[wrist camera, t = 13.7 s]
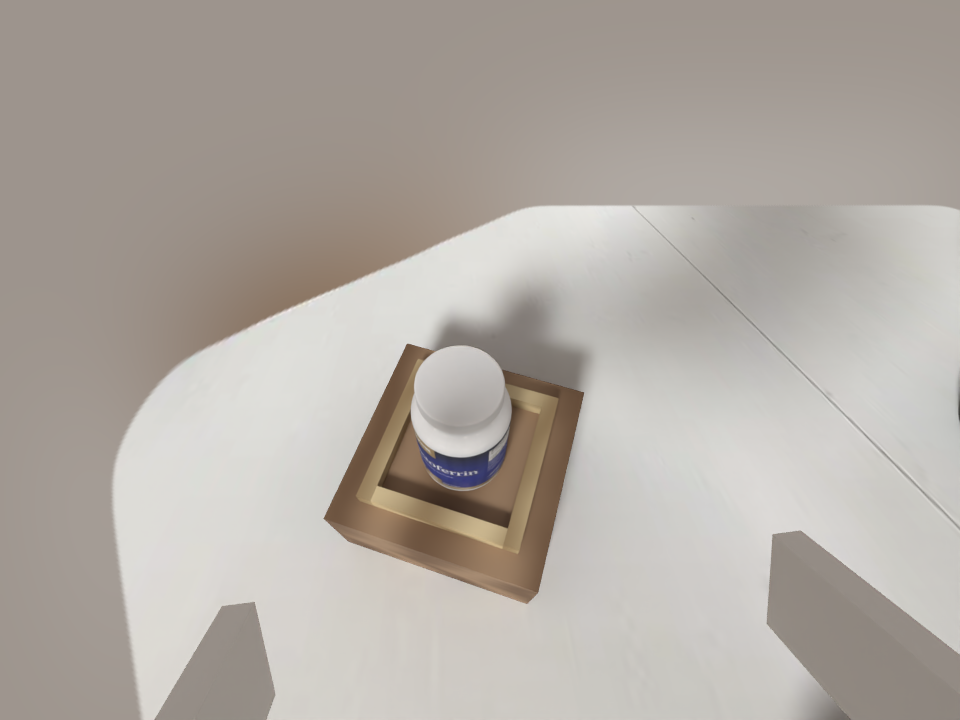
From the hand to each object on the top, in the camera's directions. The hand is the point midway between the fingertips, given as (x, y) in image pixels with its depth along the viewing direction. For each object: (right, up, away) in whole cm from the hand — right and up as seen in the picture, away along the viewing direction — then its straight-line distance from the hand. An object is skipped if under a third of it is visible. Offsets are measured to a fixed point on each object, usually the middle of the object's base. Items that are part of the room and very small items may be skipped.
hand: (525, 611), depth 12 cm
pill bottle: (-2, 0, +21) cm, 21 cm away
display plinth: (-2, -4, +27) cm, 27 cm away
